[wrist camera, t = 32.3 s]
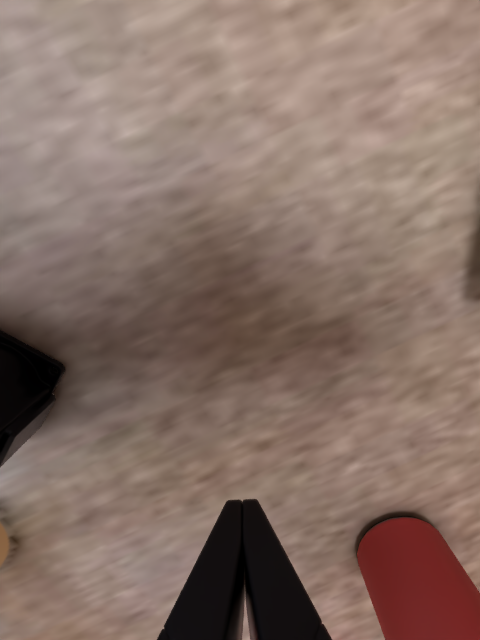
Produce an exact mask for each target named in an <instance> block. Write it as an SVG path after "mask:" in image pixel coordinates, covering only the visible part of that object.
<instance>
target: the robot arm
mask: <svg viewBox="0 0 480 640" xmlns="http://www.w3.org/2000/svg"><path fill="white" fill-rule="evenodd" d="M53 368H56V369H57V371H58V372H55V371H54V370H53ZM64 372H65V367H64V366H63V364H62V363H60V362H58V361H57V360H55V359H53V358H51V357H49V356H47V355H45V354H44V353H42V352H40V351H38V350H36V349H34V348H32V347H31V346H29V345H27V344H25V343H23V342H21V341H19V340H17V339H16V338H14V337H12V336H10V335H8V334H6V333H4V332H3V331H1V330H0V467H1V466H2V465H3V464H4V463H5V462H6V461H7V460H8V459H9V458H10V457H11V456H12V455H13V454H14V453H15V452H16V451H17V450H18V449H19V448H20V447H21V446H22V445H23V444H24V443H25V442H26V441H27V440H28V439H29V438H30V437H31V436H32V435H33V434H34V433H35V432H36V431H37V430H38V429H39V428H40V427H41V426H42V424H43V422H44V420H45V418H46V417H47V415H48V413H49V411H50V409H51V407H52V405H53V404H54V402H55V400H56V399H55V395H53V392H54V391H55V389H56V387H57V385H58V383H59V381H60V379H61V378H62V376H63V374H64ZM245 597H246V607H247V616H248V624H249V632H250V640H332V639H331V637H330V635H329V633H328V631H327V629H326V628H325V626H324V624H322V621H321V619H320V617H319V615H318V613H317V611H316V609H315V607H314V605H313V603H312V602H311V600H310V598H309V596H308V594H307V592H306V590H305V588H304V586H303V585H302V583H301V581H300V579H299V577H298V575H297V573H296V571H295V570H294V568H293V566H292V564H291V562H290V560H289V558H288V556H287V554H286V553H285V551H284V549H283V547H282V545H281V543H280V541H279V539H278V537H277V536H276V534H275V532H274V530H273V528H272V526H271V524H270V522H269V521H268V519H267V517H266V515H265V513H264V511H263V509H262V507H261V505H260V504H259V502H258V500H256V499H245V500H243V502H242V501H241V500H228V501H227V502H226V503H225V505H224V507H223V509H222V511H221V513H220V515H219V517H218V519H217V521H216V523H215V525H214V527H213V529H212V531H211V533H210V535H209V537H208V539H207V541H206V543H205V545H204V547H203V549H202V551H201V553H200V555H199V557H198V559H197V561H196V563H195V565H194V567H193V569H192V571H191V573H190V575H189V577H188V579H187V581H186V583H185V585H184V587H183V589H182V591H181V593H180V595H179V597H178V599H177V601H176V603H175V605H174V607H173V609H172V611H171V613H170V615H169V617H168V619H167V621H166V623H165V625H164V629H162V631H161V633H160V635H159V637H158V639H157V640H242V631H243V618H244V602H245Z"/></svg>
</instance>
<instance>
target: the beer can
mask: <svg viewBox="0 0 480 640" xmlns="http://www.w3.org/2000/svg"><path fill="white" fill-rule="evenodd" d="M357 557H358V564H359V567H360V570H361V573H362V576H363V579H364V581H365V584H366V587H367V590H368V592H369V595H370V598H371V601H372V604H373V606H374V609H375V612H376V615H377V618H378V620H379V623H380V626H381V629H382V632H383V634H384V637H385V640H480V593H479V591H478V590H477V588H476V587H475V585H474V584H473V582H472V581H471V579H470V578H469V576H468V575H467V573H466V572H465V570H464V569H463V567H462V566H461V564H460V563H459V561H458V560H457V558H456V557H455V555H454V554H453V552H452V551H451V549H450V548H449V546H448V545H447V543H446V542H445V540H444V538H443V537H442V535H441V534H440V532H439V531H438V530H436V529H435V528H434V527H433V526H431V525H430V524H429V523H427V522H424V521H422V520H419V519H416V518H410V517H397V518H391V519H387V520H385V521H383V522H380V523H378V524H376V525H375V526H374V527H372V528H371V529H370V530H369V531H367V533H366V534H365V536H364V537H363V538H362V540H361V542H360V545H359V548H358V552H357Z"/></svg>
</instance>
